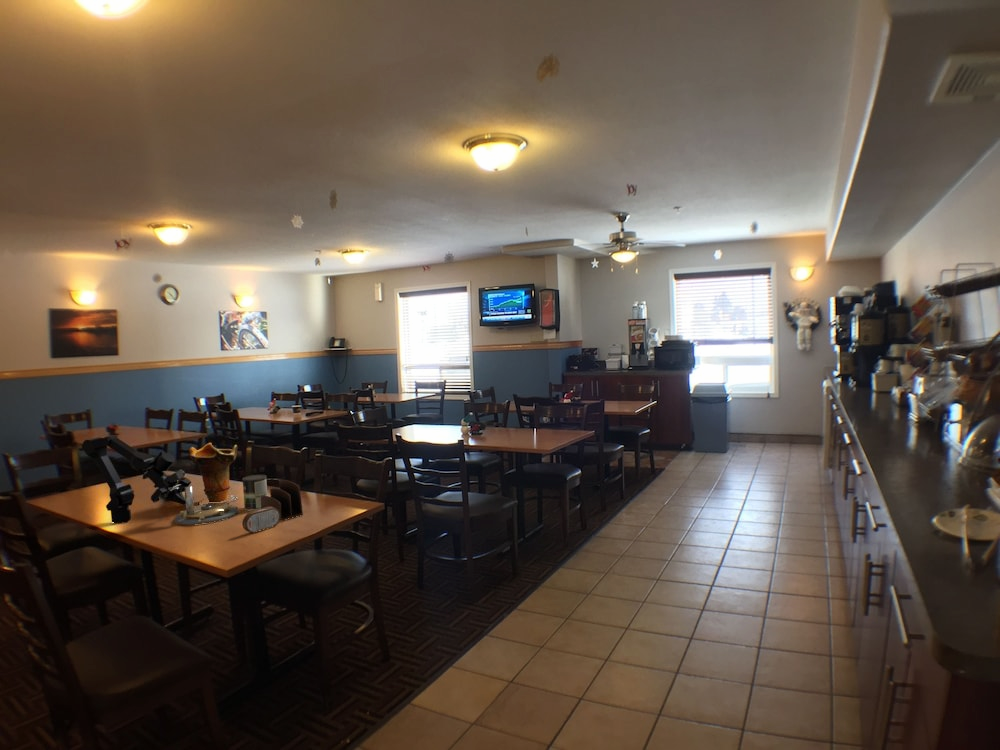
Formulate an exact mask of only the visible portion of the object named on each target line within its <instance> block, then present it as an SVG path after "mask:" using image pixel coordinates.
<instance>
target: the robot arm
mask: <svg viewBox="0 0 1000 750" xmlns="http://www.w3.org/2000/svg"><path fill="white" fill-rule="evenodd" d="M108 447H109V449H111V450H113V451H115V452H116V453H117V454H118V455H121V456H122V457H123V458H125V459H126V460H128V462H129V463H130V466H131V467H132V468H133V469H135V471H137V472H143V471H145V470H146V471H145V472H143V473H142V480H146V479H149V480H150V481H151V482H152V483H153V484H154V485H153V487H154V488H155V491H154V492H153V493H152V494H151V495H150V500H151V502H153V503H154V504H155V503H157V502H160V497H162V496H165V498H164V501H170V502H173V503H176V504H180V505H183V506H186V500H185V495H184V494H183V492H185V489H184V487H187V486H191V484H192V481H191V480H190V479H189V478H185V476H186V471H184V470H183V469H182V468H181V469H177V470H176V471H175V472H174V473H170V474H169V473H168V474H166V473H165V472H167V471H168V470H169V469H170V467H172V465H173V464H174V463H175V461H176V457H175V456H174V454H171V453H169V452H165V450H164V451H160V452H158V455H157V456H156V457H153V456H152V455H150V454H148V453H145V452H141V451H138V450H136V449H135V448H133V447H132V446H131V445H129V444H127V443H125V441H123V440H121V439H120V438H119V437H118V436H117V435H115V434H113V435H108V436H107V435H106V436H104V437H101V436H100V437H99V436H97V437H93V438H88V439H85V440H84V441H83V442H82V445H81V448H82V451H83V453H85V455H86V456H87V457H89V458H91V459H92V460H94V462H95V464H96V466H97V467H98V469H99V471H100V472H101V475H102V477H103V479H104V480H105V482H106V483H107V485H108V487H109V498H110V500H109V501H108V503H107V504H106V505H105V507H106V510H107V511H109V512H110V517H111V519H110V520H111V522H114V523H118V524H123V523H122V522H126V523H128V521H129V522H130V521H131V519H132V510H131V509H130V506H132V505H133V502H134V499H135V490H134V489H133V488H132V486H131V484H130V483H127V484H125V483H123V481H122V480H121V478H120V476H119V474H118V472H117V470H116V469H115V467H114V464H113V463H112V462H111V461H112V460H110V457H109V455H108ZM184 478H185V479H184ZM156 488H157V489H156Z"/></svg>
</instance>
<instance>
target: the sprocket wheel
mask: <svg viewBox="0 0 1000 750" xmlns="http://www.w3.org/2000/svg"><path fill="white" fill-rule="evenodd" d="M184 489H185V491H184V499H185V501H186V504H185V509H184V510H181V511H179V514H180V516H183V519H189V518H199V519H205V517H211V516H216V515H222V514H224V513H225V512H227V511H228V510H232V509H233V506H234V505H233V504H230V502H225V503H208V504H204V505H195V501H194V494H193V493H194V491H193V489H194V488H193V485H189V486H187V487H184ZM229 505H230V506H229Z"/></svg>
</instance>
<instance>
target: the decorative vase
mask: <svg viewBox="0 0 1000 750" xmlns="http://www.w3.org/2000/svg"><path fill="white" fill-rule="evenodd" d="M212 444H213V443H212V442H208V443H206V444H205V445H203V447H201V448H199V449H196V448H195V447H194V446H191V447H190V448H189V457H190V460H191V462H192V463H193V465H195V466H196V467H198V469H199V472H200V474H201V477H202V481H203V486H204V489H203V492H204V495H206V497H207V498H206V499H208V500H209V502H221V501H224V500H227V498H228V496H229V490H230V489H231V486H230V466H231V464H232V463H234V462H235V460H236V457H237V454H238V445H237V444H234V446H233V448H232V449H231V448H216V447H214V445H212ZM235 496H236V495H231V497H233V498H232V499H231V500H229V501H226V502H228V503H230V502H233V501H236V500H237V499H238V496H237V497H235ZM236 498H237V499H236ZM202 500H205V499H204V498H203V499H202ZM222 503H225V502H222ZM203 505H204V504H203Z"/></svg>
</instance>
